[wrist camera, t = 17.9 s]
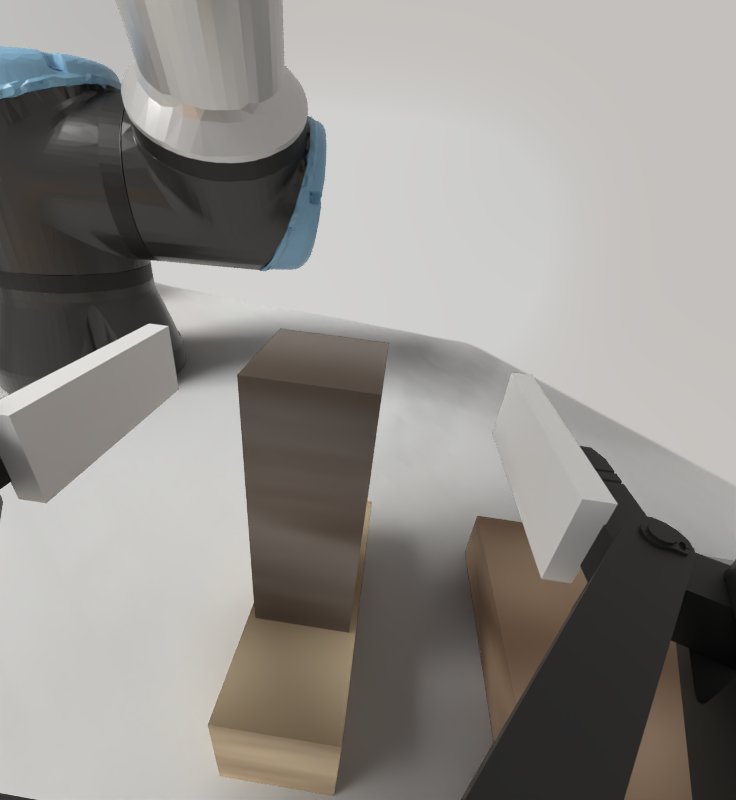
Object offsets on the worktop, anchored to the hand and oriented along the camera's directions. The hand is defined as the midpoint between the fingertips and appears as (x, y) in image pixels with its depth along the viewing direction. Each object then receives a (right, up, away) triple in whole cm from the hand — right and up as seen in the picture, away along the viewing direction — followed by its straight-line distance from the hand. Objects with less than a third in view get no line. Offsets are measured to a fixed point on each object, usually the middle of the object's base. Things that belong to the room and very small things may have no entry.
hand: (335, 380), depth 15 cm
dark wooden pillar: (-1, -12, +3) cm, 12 cm away
